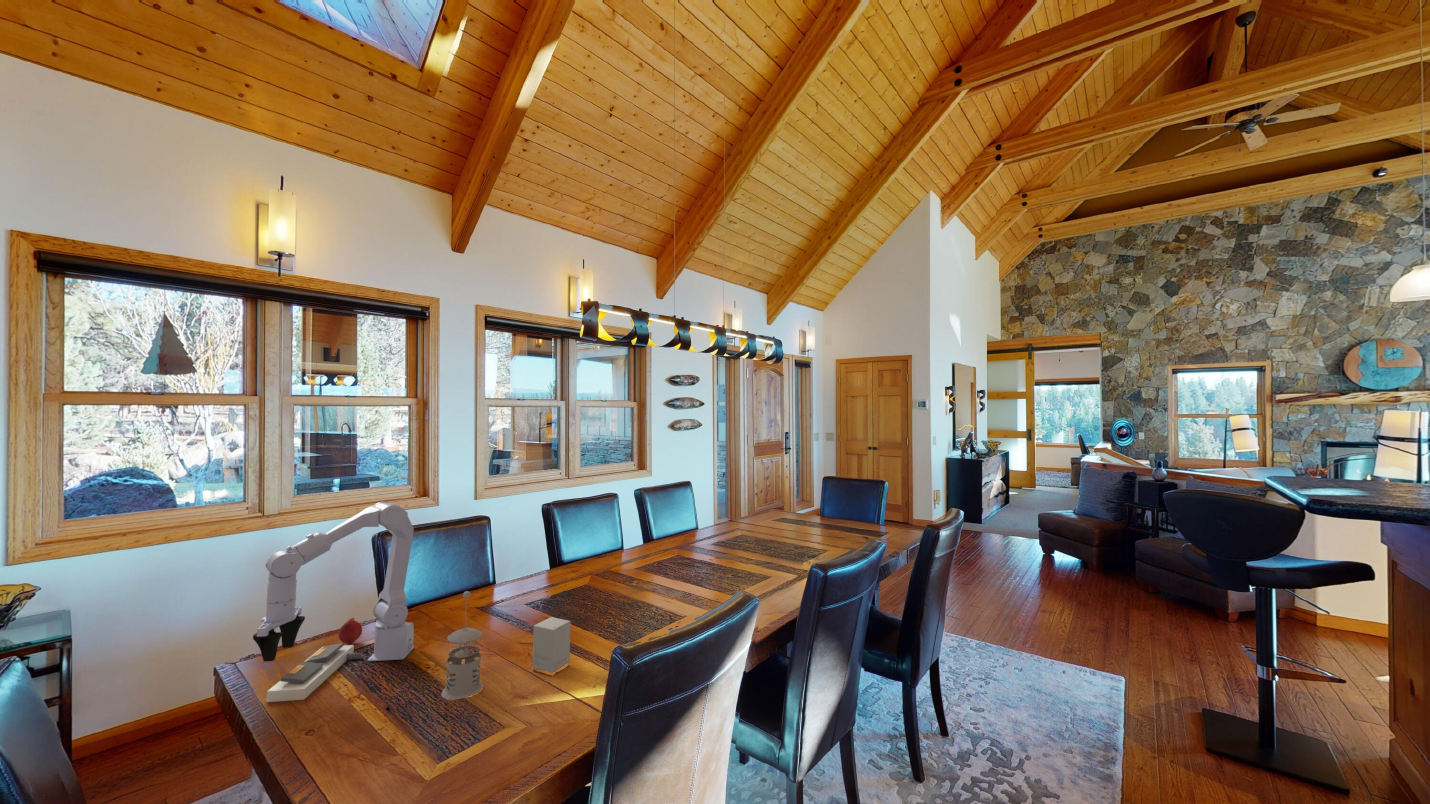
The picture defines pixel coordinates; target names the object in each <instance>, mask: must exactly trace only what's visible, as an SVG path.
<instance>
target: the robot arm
mask: <svg viewBox="0 0 1430 804" xmlns="http://www.w3.org/2000/svg"><path fill="white" fill-rule="evenodd" d="M408 515H409V513H408V512H407V510H405V509H404V508H402V507H401V506H400V505H395V504H392V503H389V502H387V501H379V502H377V503H374V504H373V505H370V506H368V507H366V508H364V509H363V510H362V511H360V512H359V513H357V514H354V515H353V516H351V517H350V518H348V519H347V520H345V521H344V522H342V523H339V524H338V525H337V526H335V527H334V528H332V529H330V530H328V531H327V532H325V533H322V532H316V533H314V534H313V533H309V534H307V535H306V538H305V539H302V540H300V541H299V542H296V543H295V544H294V545H292V546H291V545H287V546H286V547H285V549H286V550H279V551H277V552H274V553H273V554H272V555H270V557H269V558H268V559H267V561H266V563H265V568H266V571H268V572H269V573H268V582H267V591H266V593H267V594H266V612H265V616H264V617H261V619H260V622H261V625H260V627H258V628H257V629H256V633H254V634H252V640H253V641H254V642H255V643H256V644H257V646H258V648H259V651H260V653H261V657H262V660H263V662H266V663H267V662H274V661H275V660H276V657H277V652H278V646H279V644H280V641H281V647H282V649H287V648H288V649H289V648H291V649H292V648H293V647H294V645H295V643H296V639H297V636H298V633H299V630H300V628H301V627H302V625H303V623H304V621H305V620H306V616H304V615H302V606H296V601H297V584H298V583H297V582H298V581H297V573H298V572H299V570H300V569H301V567H302V566H304V565H306V564H308V563H309V562H311V561H313V560H316V558H317V559H318V557H320V556H322V555H324V554H325V553H327V552H329V551H330V550H331V547H332V545H333V544H334V543H336V542H338V541H339V540H342V539H345V537H348V536H350V535H352V534H353V533H355V532H358V531H360V530H361V529H363V528H379V527H380V526H382V527H383V528H385V529H386V530H387V531H388V532H389V533H390V534H391V535H392V537H391V542H390V547H389V548H390V549H389V555H388V560H387V567H386V573H385V577H384V584H383V589H382V590H381V592H380V593H379V594H378V600H377V601H376V602H375V603H374V606H373V607H372V609H373V610H372V615H373V616H374V617H375V618H376V622H375V625H374V626H375V627H374V643H373V644H374V645H373V646H374V648H373V653H372V655H371V656H370V657H369V658H367V662H377V661H379V662H380V661H394V660H404V659H406V657H407V656H408V655H410V653H411V651H412V650H413V649H414V648H415V647H414V633H415V632H414V631H415V627H414V623H413V622H407V621H406V620H407V617H408V615H409V610H408V607H407V602H408V601H407V596H406V593H405V586H406V579H407V575H408V574H407V573H408V568H409V567H408V566H409V562H410V556H411V549H412V542H413V537H414V531H415V530H414V529H415V528H414V527H413V524H412V522H411V520H410V518H409V516H408ZM277 628H279V632H277V631H275V630H276V629H277Z"/></svg>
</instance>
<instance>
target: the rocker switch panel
mask: <svg viewBox="0 0 1430 804" xmlns="http://www.w3.org/2000/svg"><path fill="white" fill-rule="evenodd" d="M323 647H324V646H322V647H321V648H319V649H318V650H317V651H315V652H314V653H313V654H312V655H310V656H309V657H307V659H306V660H304V662H306V661H307V660H308V659H309V658H311V657H312V656H313V655H314V654H315V653H317V652H318V651H319V650H320V649H322V648H323ZM354 648H355V645H354V644H351V645H348V644H344V646H343V647H342V648H340V649H339V650H338V651H337V652H336V653H335V654H333V655H332V656H331V657H330V658H329V659H328V660H324V661H319V662H314V663H323V667H321V668H320V669H319V670H318V671H317V672H316V673H315V674H313V675H312V676H311V677H310V678H309V679H308V680H306V681H305V682H304V683H293V682H282V681H281V680H280V681H278V682H276V684H274V685H273V686H271V688H269V689H268V690H267V691H266V702H265V703H275V702H277V703H278V702H289V701H304V700H305V699H306V698H308V696H310V695H311V694H312V693H313V692H314V691H315V690H316V689H318V687H320V686H321V685H322V684H323V683H324V682H325V681H326V680H327V679H329V677H331V675H332V674H334V673H335V672H336V671H337V670H339V668H341V666H342V665H344V663H346V662H347V661H352V660H361V659H362V658H363V652H354V651H355V650H354Z"/></svg>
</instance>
